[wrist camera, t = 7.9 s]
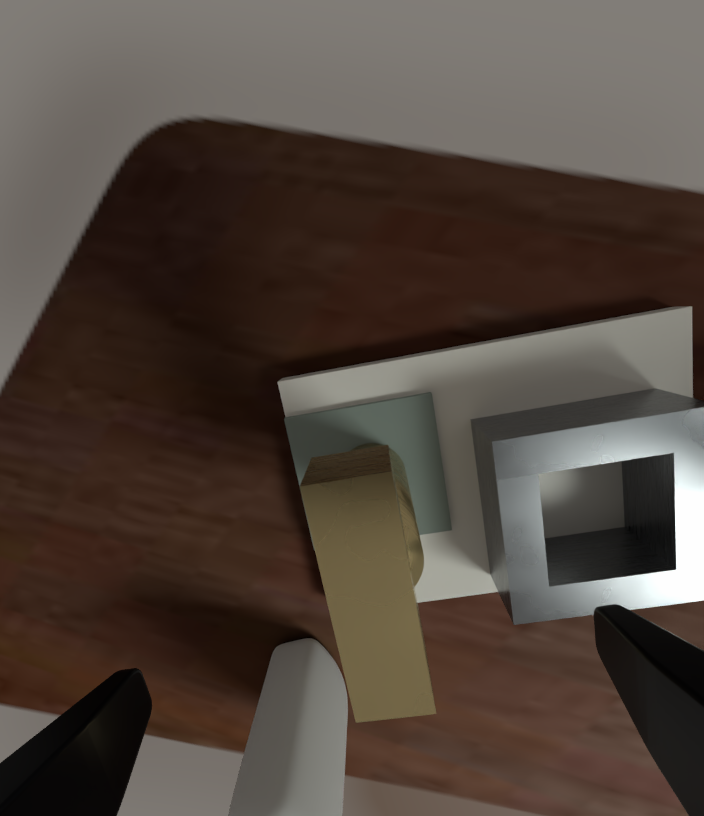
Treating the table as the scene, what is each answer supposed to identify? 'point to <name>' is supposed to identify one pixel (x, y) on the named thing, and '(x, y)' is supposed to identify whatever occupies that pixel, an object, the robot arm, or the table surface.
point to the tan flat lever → (371, 577)
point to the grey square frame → (605, 549)
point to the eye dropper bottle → (296, 738)
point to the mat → (387, 425)
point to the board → (504, 393)
